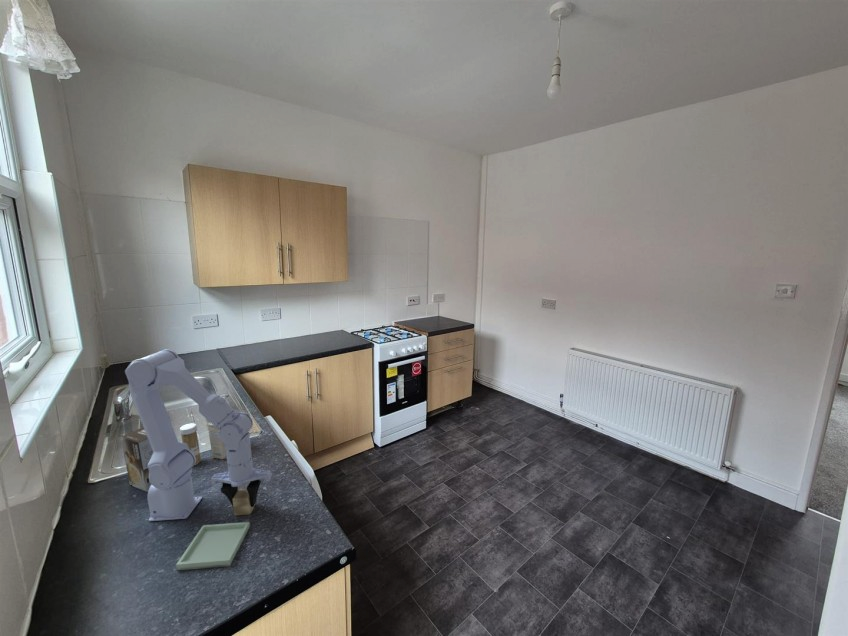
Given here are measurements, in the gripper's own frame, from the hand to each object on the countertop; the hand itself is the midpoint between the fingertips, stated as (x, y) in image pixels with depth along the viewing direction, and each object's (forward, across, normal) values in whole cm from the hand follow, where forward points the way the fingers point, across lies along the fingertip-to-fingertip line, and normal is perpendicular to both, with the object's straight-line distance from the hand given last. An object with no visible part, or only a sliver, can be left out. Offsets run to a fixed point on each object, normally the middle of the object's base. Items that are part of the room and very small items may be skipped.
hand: (244, 504), depth 94 cm
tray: (+2, -2, -12) cm, 12 cm away
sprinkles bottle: (+2, -26, +24) cm, 35 cm away
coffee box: (+2, -34, +15) cm, 37 cm away
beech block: (+1, 0, 0) cm, 1 cm away
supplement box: (+2, -18, +29) cm, 34 cm away
